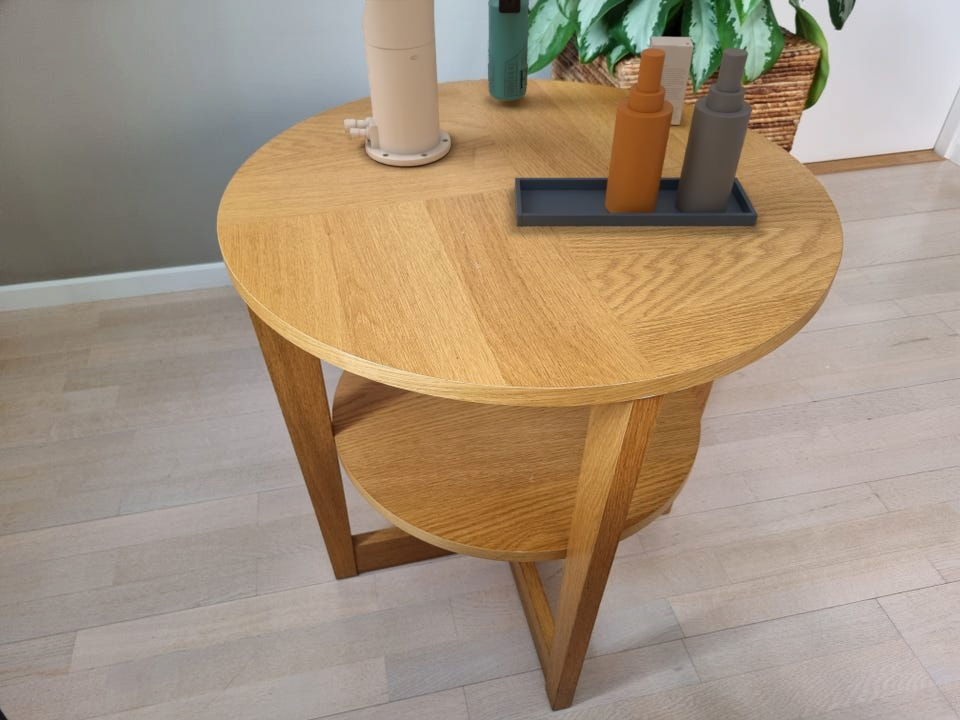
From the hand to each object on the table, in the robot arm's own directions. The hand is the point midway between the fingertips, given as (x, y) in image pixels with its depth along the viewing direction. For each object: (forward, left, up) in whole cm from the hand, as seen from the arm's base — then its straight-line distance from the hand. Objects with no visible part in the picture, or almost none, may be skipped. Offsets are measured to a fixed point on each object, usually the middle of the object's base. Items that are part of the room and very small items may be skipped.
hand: (509, 4), depth 106 cm
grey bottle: (+24, -36, -14) cm, 45 cm away
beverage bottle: (0, 0, -15) cm, 15 cm away
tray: (+15, -36, -15) cm, 42 cm away
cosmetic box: (+24, -7, -15) cm, 29 cm away
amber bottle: (+15, -36, -14) cm, 41 cm away
